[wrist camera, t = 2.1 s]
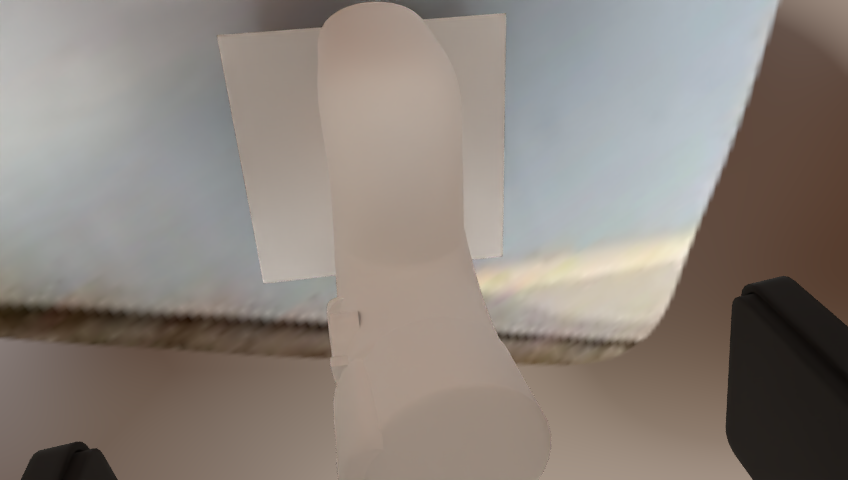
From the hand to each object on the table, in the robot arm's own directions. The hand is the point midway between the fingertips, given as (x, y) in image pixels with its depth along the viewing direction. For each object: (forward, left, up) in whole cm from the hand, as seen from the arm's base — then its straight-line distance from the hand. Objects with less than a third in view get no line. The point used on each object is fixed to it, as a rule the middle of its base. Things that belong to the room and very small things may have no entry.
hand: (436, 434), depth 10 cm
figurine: (0, 0, -14) cm, 14 cm away
